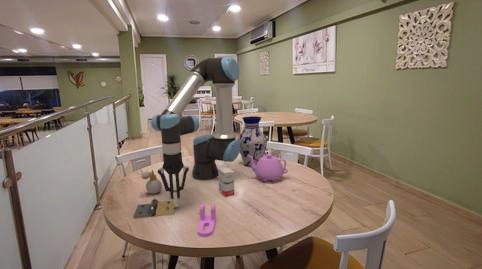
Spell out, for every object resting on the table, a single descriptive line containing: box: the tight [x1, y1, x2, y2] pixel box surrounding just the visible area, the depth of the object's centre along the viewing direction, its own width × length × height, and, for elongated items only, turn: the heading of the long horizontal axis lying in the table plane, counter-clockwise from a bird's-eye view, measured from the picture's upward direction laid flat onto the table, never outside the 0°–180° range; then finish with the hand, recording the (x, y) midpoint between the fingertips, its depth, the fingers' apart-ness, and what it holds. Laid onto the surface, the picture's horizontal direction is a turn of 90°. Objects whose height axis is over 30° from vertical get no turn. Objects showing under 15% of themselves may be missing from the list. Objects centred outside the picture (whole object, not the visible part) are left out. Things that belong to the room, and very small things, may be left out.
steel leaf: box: [132, 199, 159, 219], centre depth 117 cm, size 8×10×3 cm
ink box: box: [217, 166, 235, 198], centre depth 133 cm, size 8×5×12 cm, turn 26°
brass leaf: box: [155, 199, 176, 218], centre depth 118 cm, size 7×10×3 cm
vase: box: [236, 116, 268, 167], centre depth 175 cm, size 19×19×30 cm
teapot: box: [247, 153, 289, 183], centre depth 150 cm, size 22×16×14 cm
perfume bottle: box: [141, 169, 163, 195], centre depth 134 cm, size 8×10×12 cm
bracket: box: [197, 203, 217, 238], centre depth 103 cm, size 13×6×7 cm, turn 0°
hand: (176, 205), depth 118 cm, fingers closed
